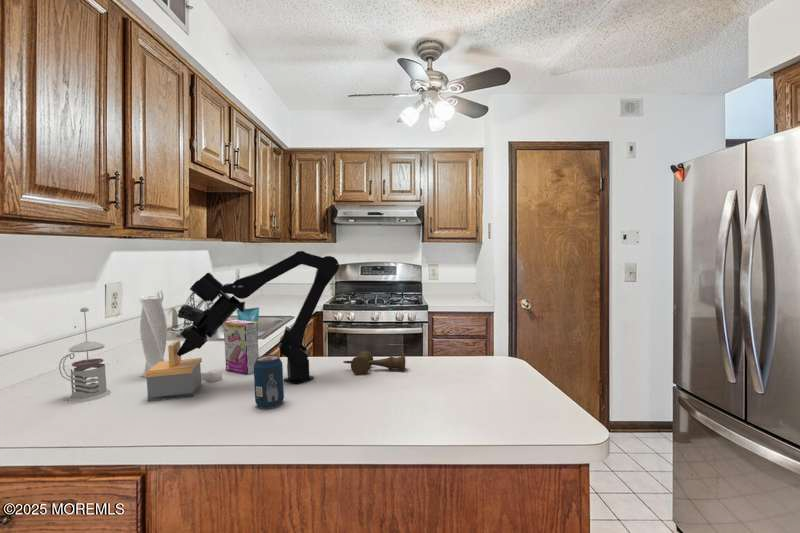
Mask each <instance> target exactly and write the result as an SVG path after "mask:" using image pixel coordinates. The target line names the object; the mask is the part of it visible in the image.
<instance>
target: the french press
mask: <svg viewBox="0 0 800 533" xmlns="http://www.w3.org/2000/svg"><path fill="white" fill-rule="evenodd" d="M89 311H90V310H89V308H88V307H86V306H85V307H81V308H80V313H84V314H83V315H84V329H85V330H84V331H85V341H84V342H80V343H77V344H75V345H73V346H72V347H70V348H69V349H68V352H69V353H68V354H66V355H65V356H63V357H62V358H61V359H60V361H59V364H58V367H59V368H58V369H59V373H60V375H61V377H62V378H64V379H65V380H67V381H69V382H71V383H70V384H71V396H70V397H69V398H67V402H68V401H70V402H69V403H72V402H77V403H85V402H86V401H87V402H91V401H96V400H100V399H102V398H105V397H107V396H109V395H110V394H111V393H112V391H111V390H110V389H108V388H107V376H106V375H107V374H106V373H107V372H106V363H102V362H104V359H103V358H99V357H98V358H89V352H94V351H98V350H101V349H103V348H104V349H105V346H106V345H105V344H103V343H101V342H98V341H89V340H88V336H87V335H88V334H87V333H88V332H87V320H86V312H89ZM85 352H86V358H87V359H81V360H78V361H75V362H72V363H71V366H72V367H73V369H72V368H70V375H69V374H68V373H67V372H66V369H65V362H66V359H67V358H68V357H69V359H70V360H72V359H74V358H75V353H85ZM62 361H63V362H62ZM61 364H62V370H63V371H64V374H65V375H66V376H67V377H68V378H66V376H64V374H63V373H62V370H61ZM92 368H93V369H92ZM73 376H74V377H73ZM69 378H70V379H69ZM88 378H89V379H88ZM88 383H89V384H88Z"/></svg>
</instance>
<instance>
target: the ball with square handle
mask: <svg viewBox="0 0 800 533" xmlns="http://www.w3.org/2000/svg"><path fill="white" fill-rule="evenodd" d="M202 380H203V381H206V382H207V383H215V381H216V382H219V380H220V381H221V380H223V370H222V369H212V370H209V371H201V381H202Z"/></svg>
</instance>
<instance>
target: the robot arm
mask: <svg viewBox="0 0 800 533" xmlns="http://www.w3.org/2000/svg"><path fill="white" fill-rule="evenodd" d="M300 265H303V266H306V267H311V268H314V269H316V271H315V275H314V279H313V282H312V283H311V284H312V285H311V287H310V289H309V291H308V293H307V295H306V298H305V300H304V301H303V303H302V306H301V308H300V310H299V312H298V315H297V316H296V318H295V320H294V323H293V324H292V325H291V327H288V326H285V327H284V328H285V329H284V332H283V334H282V335H281V336H280V338H279V344H280V347H279V350H280V353H281V354H282V355H283V356H284V357H286V358H287V364H286V367H287V368H286V369H287V377H285V378H283V382H288V383H291V384H295V385H299V384H301V383H304V382H308V381H310V380H313V379H314V378H315V376H313V375H311V374H310V359H309V358H308V357H309V355H308V354H309V353H308V348H307V347H306V346H305V345H303V340H304V337H305V331H306V329H307V327H308V325H309V322H310V321H311V319H312V316H313V314H314V311H315V310H316V307H317V305H318V303H319V302H320V300H321V297H322V295H323V293H324V291H325V288H326V287H327V285H328V284H329V283H330V282H331V280H332V279H333V278H334V277H335V276H336V274H337V272H338V271H339V268H340V263H339V261H338V260H337V258H336V257H334V256H331V255H324V256H323V257H321V256H318V255H315V254H311V253H308V252H306V251H304V250H298V251H296V252H295V253H294V254H292V255H290V256H288V257H286V258H284V259H282V260H281V261H279V262H277V263H274V264H273V265H271V266H269V267H268V268H265V269H263V270H261V271H259V272H255V273H253V274H250V275H247V276H244V277H241V278H238V279H236V280H235V281H233V283H225V284H223V283H222V282H220V281H219V280H218V279H217V278H215V276H214V275H213V274H212V273H211V272H207V273H205V274H204V275H203V276H202V277H200V279H197V280H196V281H195V282H194V283H193V284H192V285H191V287H190V288H189V290H190V291H191V292H193V293H194V294H195V295H196V296H197V297H198V298H199V299H201V300H202V301H204V303H208V302H210V303H213V304H211V306H210V307H209V308H207V309H205V310H202V309H200V308H197V307H194V306H192V305H189V304H182V305H181V306H180V309H179V310H178V313H177V315H176V316H177V318H179V319H184V320H188V321H190V322H192V323H191V324H192V326H188V327H186V328H184V329H183V331H181V333H180V336H181V337H183V339H185V340H184V342H183V343H182V345H180V349H179V351H178V353H177V355H178V356H181V357H182V356H184V355H185V354H187V353H190V352H192V351H194V350H196V349H199V350H200V349H201V348H202V347H204V345H205V344H206V343H207V342H208V338H212V337H213V336H215V335H216V333H217V330H218V329H220V328H221V326H223V325H224V322H225V321H228V319H229V318H230V317H231V316H232V315H233V314H234V313H235V311H236V312H237V309H239V310H240V311H241V312H243V311H244V310H245V309H246V307H245V306H246V305H245V304H246V301H240V300H244V299H247V298H249V297H251V296H252V295H253V294H254V293H255V292H256V291H258V290H259V289H260V288H261V287H263V286H264V285H266V284H267V283H269V282H270V281H272V280H274V279H276V278H278V277H280V276H281V275H283V274H286V273H287V272H289V271H291V270H293V269H295V268H296V267H298V266H300ZM229 295H232V296H229ZM219 296H220V297H219ZM218 297H219V298H218ZM217 298H218V299H217ZM215 299H217V300H216V301H215ZM239 299H240V300H239ZM213 301H215V302H213Z"/></svg>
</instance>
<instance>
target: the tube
mask: <svg viewBox="0 0 800 533" xmlns="http://www.w3.org/2000/svg"><path fill="white" fill-rule="evenodd" d="M236 313H237V320H243V321H252V322H257V335H259V313H260V307H251V308H250V307H249V308H245V310H244V311H243V312H241V311H240V310H239V309H238V308H237V310H236Z"/></svg>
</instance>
